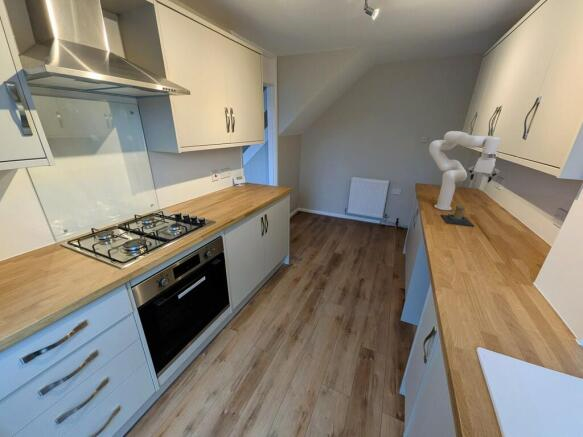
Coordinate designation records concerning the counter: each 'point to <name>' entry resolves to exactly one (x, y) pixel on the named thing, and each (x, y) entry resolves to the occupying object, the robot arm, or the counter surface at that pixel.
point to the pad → (456, 220)
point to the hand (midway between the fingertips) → (479, 181)
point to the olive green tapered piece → (459, 212)
